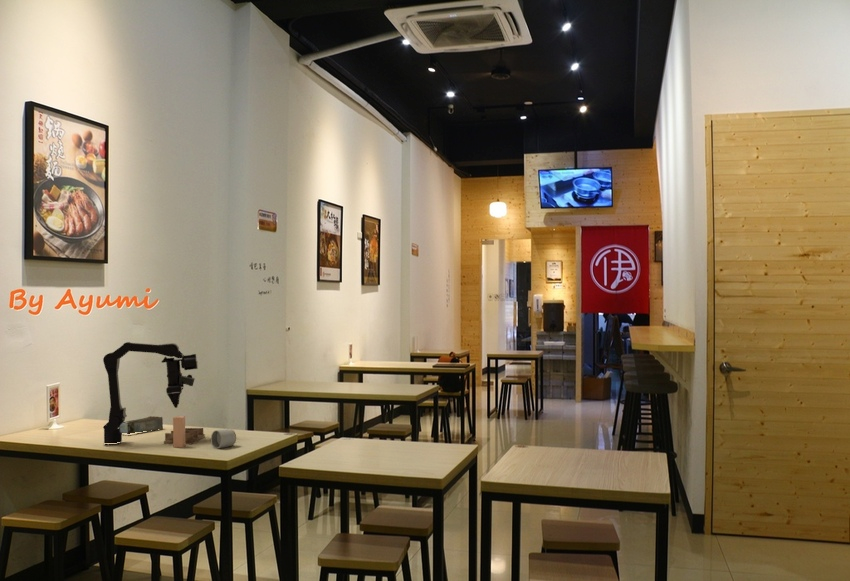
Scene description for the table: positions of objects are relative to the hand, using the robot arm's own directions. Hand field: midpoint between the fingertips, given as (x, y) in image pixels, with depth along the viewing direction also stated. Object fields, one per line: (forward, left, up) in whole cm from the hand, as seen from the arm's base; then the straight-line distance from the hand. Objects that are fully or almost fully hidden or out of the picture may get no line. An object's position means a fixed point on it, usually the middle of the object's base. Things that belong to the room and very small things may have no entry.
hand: (176, 406), depth 311 cm
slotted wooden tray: (+3, -4, -15) cm, 16 cm away
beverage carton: (-17, +27, -15) cm, 35 cm away
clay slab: (+1, -18, -15) cm, 23 cm away
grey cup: (+18, -25, -15) cm, 35 cm away
